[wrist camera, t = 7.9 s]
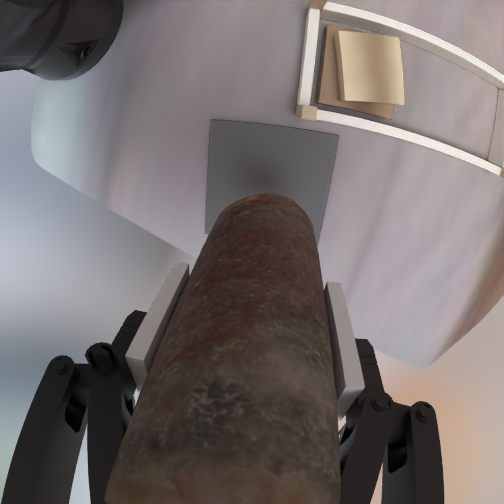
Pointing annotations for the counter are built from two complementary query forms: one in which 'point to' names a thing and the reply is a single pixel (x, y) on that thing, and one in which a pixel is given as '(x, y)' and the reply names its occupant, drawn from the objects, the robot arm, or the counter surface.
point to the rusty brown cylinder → (240, 375)
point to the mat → (269, 166)
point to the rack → (500, 155)
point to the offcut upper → (368, 67)
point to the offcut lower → (328, 80)
